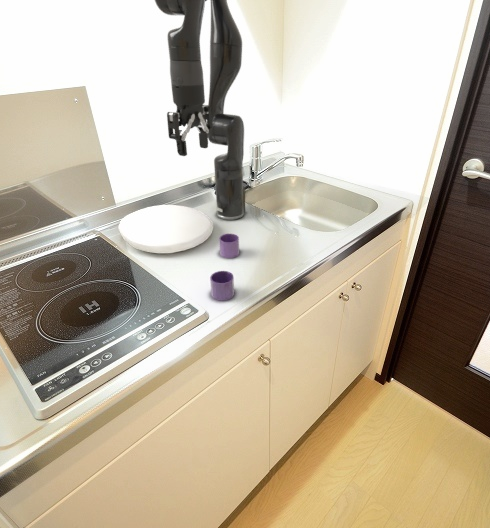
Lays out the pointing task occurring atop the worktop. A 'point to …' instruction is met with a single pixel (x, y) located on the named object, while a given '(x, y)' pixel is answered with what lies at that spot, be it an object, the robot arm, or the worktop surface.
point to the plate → (165, 228)
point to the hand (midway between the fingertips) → (193, 151)
